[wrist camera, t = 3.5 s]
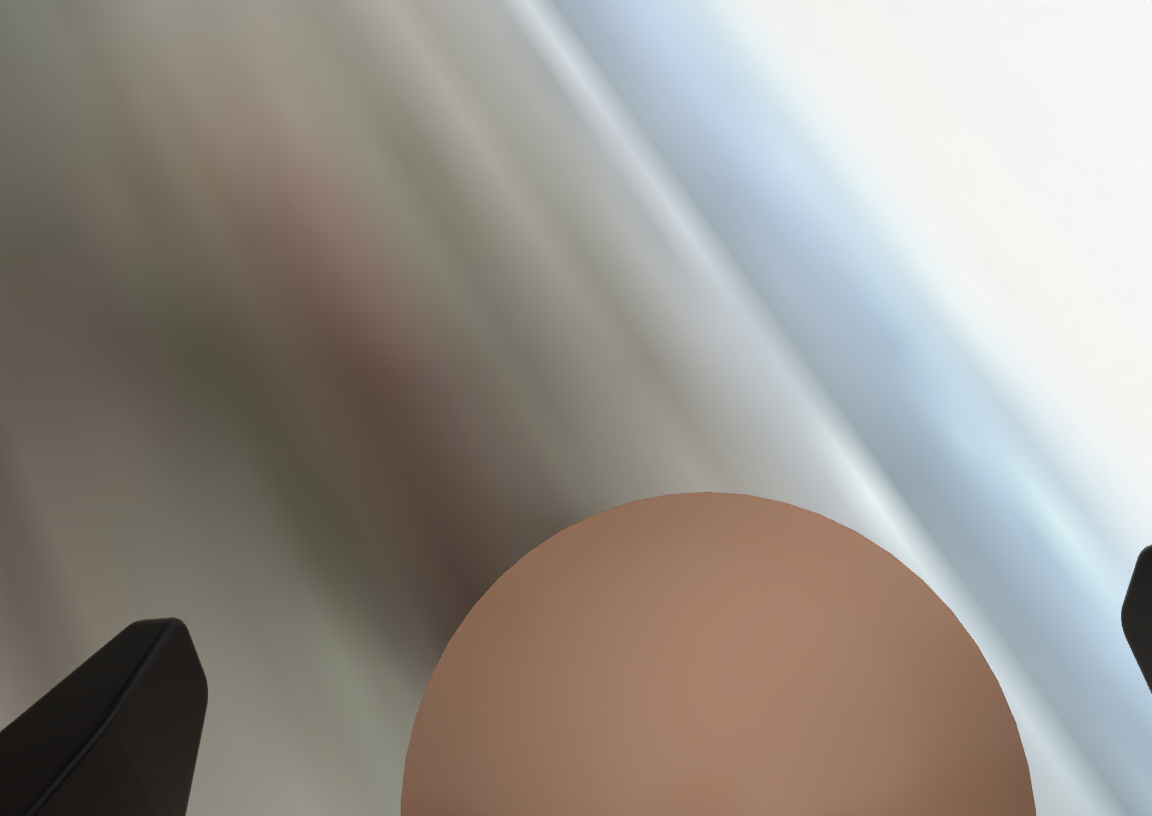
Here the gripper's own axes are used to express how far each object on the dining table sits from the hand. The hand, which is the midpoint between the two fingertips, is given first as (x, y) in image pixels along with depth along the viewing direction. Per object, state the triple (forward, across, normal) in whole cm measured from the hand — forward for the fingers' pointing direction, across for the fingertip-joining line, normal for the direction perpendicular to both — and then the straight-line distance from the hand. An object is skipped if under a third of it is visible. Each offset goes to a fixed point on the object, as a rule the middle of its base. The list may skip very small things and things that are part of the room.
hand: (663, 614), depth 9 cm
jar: (+4, 0, +6) cm, 7 cm away
